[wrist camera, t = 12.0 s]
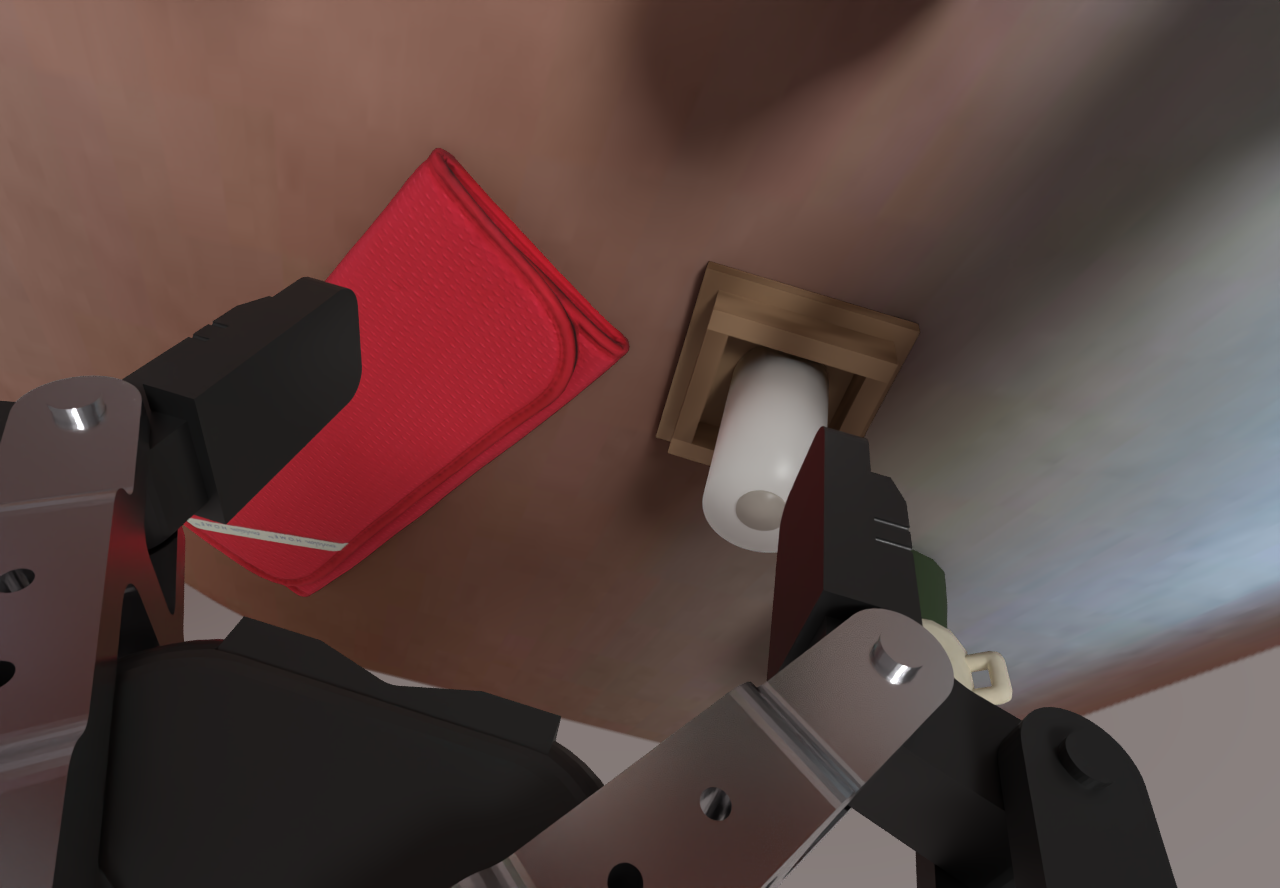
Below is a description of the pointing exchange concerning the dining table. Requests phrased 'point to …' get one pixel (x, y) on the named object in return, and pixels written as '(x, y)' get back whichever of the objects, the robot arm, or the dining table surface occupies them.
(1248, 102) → the dining table surface
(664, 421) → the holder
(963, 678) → the character mug
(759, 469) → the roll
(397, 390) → the red folded cloth
